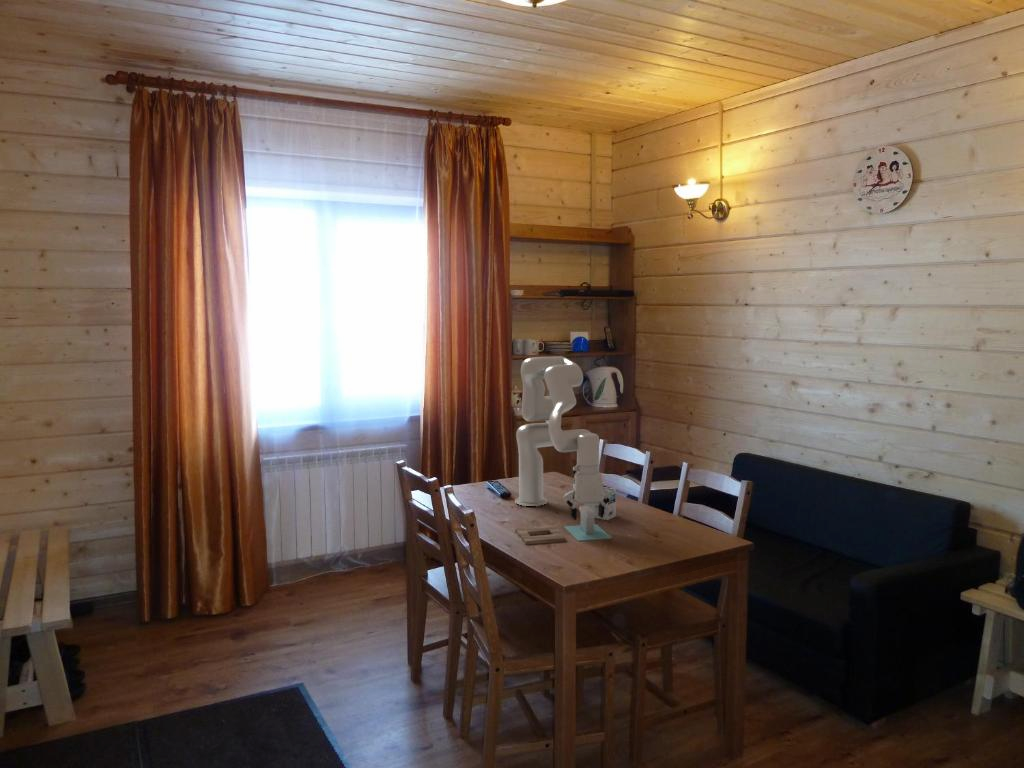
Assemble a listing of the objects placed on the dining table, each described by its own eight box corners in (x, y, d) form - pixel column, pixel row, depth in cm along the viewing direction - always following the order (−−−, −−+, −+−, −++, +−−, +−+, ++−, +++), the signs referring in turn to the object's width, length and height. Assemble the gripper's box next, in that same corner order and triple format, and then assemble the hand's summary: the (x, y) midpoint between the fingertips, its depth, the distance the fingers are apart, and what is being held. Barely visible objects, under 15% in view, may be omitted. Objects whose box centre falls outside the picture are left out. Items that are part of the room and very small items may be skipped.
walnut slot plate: (515, 532, 265) (515, 528, 265) (553, 528, 268) (553, 525, 268) (525, 544, 252) (525, 541, 251) (565, 541, 255) (565, 537, 255)
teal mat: (563, 527, 270) (563, 526, 270) (596, 524, 273) (596, 524, 273) (578, 541, 255) (578, 540, 255) (612, 538, 257) (612, 537, 257)
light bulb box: (616, 516, 284) (617, 488, 282) (608, 520, 278) (608, 491, 277) (591, 512, 290) (591, 484, 288) (582, 516, 284) (582, 487, 283)
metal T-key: (587, 536, 259) (587, 513, 258) (579, 528, 268) (579, 506, 267) (595, 535, 260) (596, 512, 259) (587, 527, 268) (587, 505, 268)
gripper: (567, 473, 256) (566, 522, 258) (615, 470, 260) (615, 519, 262) (560, 468, 263) (560, 516, 265) (607, 465, 267) (607, 513, 269)
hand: (587, 517), depth 263 cm, fingers open, 9 cm apart
